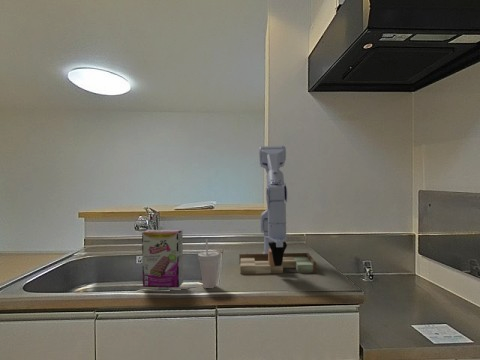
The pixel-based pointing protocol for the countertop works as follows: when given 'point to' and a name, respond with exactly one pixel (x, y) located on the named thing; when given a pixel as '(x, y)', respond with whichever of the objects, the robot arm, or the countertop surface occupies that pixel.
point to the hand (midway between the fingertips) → (277, 265)
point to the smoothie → (208, 267)
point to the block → (271, 258)
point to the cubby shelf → (290, 265)
